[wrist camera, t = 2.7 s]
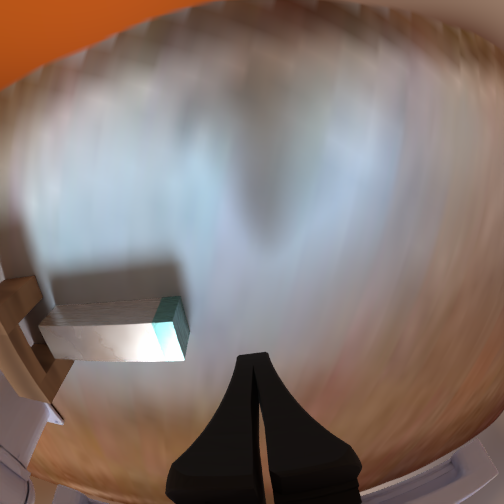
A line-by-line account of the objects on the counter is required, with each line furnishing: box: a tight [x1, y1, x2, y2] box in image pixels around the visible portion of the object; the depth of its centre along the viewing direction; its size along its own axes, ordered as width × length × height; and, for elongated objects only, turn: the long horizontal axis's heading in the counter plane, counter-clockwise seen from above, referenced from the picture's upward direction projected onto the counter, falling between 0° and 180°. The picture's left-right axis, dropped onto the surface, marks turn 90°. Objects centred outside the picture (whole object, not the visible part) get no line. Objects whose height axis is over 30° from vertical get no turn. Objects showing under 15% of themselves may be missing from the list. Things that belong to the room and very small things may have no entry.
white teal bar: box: [38, 296, 190, 362], centre depth 16 cm, size 10×3×3 cm, turn 96°
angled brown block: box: [0, 276, 74, 404], centre depth 15 cm, size 4×8×5 cm, turn 6°
